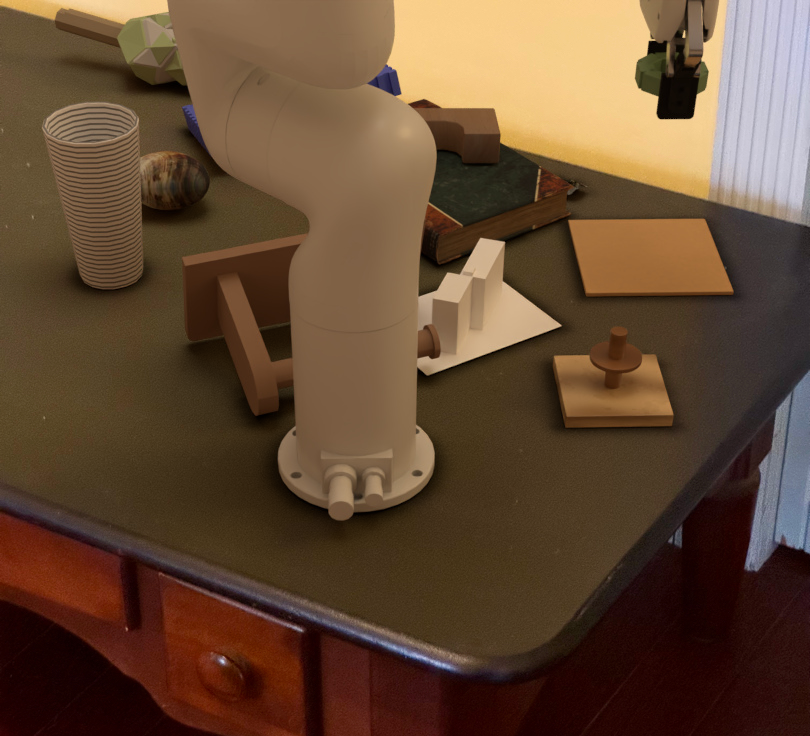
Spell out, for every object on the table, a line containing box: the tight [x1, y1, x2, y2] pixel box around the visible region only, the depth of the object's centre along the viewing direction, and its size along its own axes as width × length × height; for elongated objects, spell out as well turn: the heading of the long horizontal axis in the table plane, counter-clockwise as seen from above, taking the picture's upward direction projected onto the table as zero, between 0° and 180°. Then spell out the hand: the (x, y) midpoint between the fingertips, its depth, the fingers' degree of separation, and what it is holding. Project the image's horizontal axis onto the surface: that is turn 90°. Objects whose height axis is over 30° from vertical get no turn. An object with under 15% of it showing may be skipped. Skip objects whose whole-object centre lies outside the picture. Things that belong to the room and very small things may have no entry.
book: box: [407, 98, 574, 265], centre depth 150 cm, size 17×4×25 cm
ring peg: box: [552, 326, 674, 429], centre depth 122 cm, size 9×9×7 cm
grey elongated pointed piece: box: [560, 177, 589, 196], centre depth 152 cm, size 6×2×3 cm
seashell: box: [140, 150, 211, 211], centre depth 146 cm, size 10×6×8 cm
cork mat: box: [567, 218, 734, 297], centre depth 142 cm, size 14×14×1 cm
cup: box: [41, 101, 144, 290], centre depth 133 cm, size 8×8×16 cm
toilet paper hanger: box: [181, 218, 441, 417], centre depth 124 cm, size 22×13×10 cm, turn 111°
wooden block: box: [413, 107, 502, 163], centre depth 149 cm, size 7×3×15 cm
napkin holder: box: [417, 238, 563, 376], centre depth 131 cm, size 15×11×6 cm
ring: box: [634, 52, 710, 97], centre depth 127 cm, size 6×6×2 cm
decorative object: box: [54, 7, 188, 87], centre depth 169 cm, size 9×10×25 cm
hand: (668, 99), depth 128 cm, fingers closed on ring, 6 cm apart
